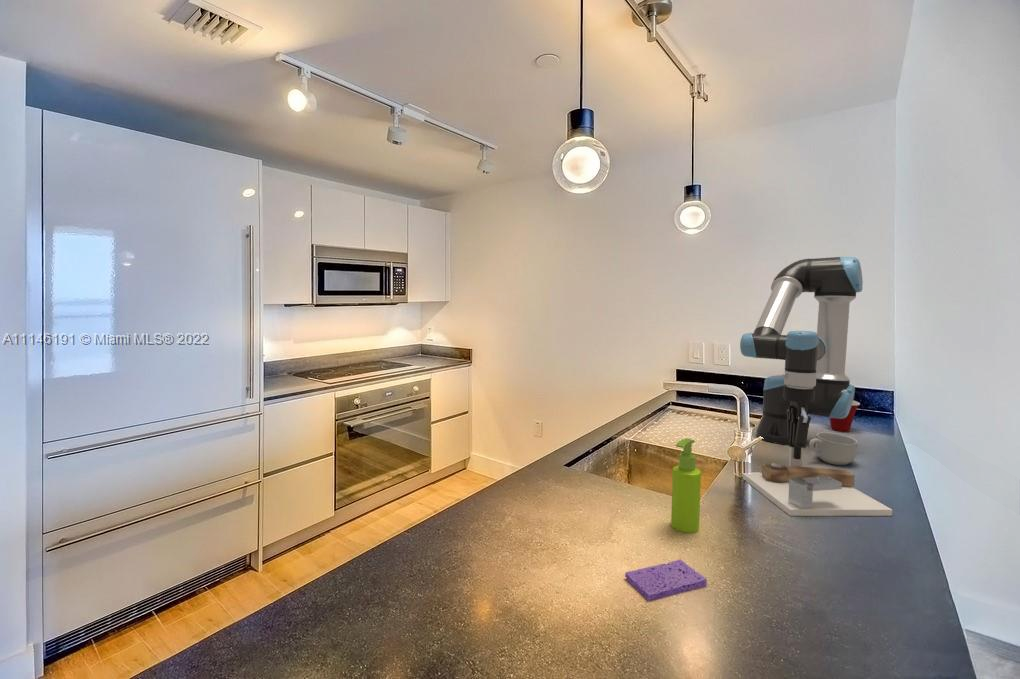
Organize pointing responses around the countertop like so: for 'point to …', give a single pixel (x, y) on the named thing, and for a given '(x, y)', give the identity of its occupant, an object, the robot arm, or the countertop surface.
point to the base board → (819, 499)
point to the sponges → (665, 579)
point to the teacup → (834, 447)
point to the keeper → (809, 489)
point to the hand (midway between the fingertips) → (794, 468)
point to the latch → (804, 473)
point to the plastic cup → (844, 420)
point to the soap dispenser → (686, 490)
